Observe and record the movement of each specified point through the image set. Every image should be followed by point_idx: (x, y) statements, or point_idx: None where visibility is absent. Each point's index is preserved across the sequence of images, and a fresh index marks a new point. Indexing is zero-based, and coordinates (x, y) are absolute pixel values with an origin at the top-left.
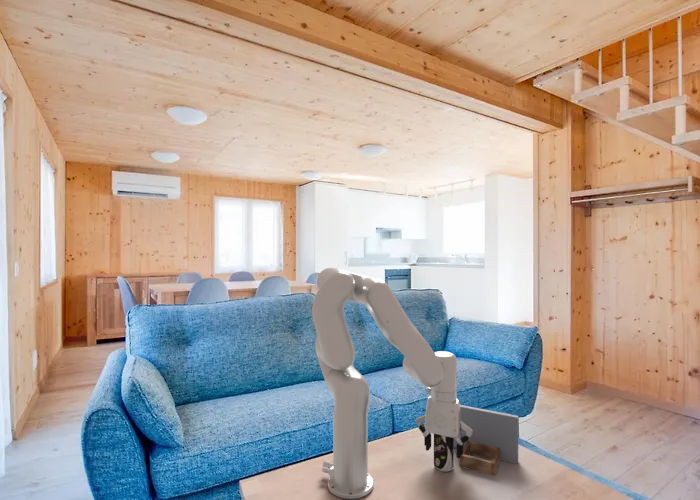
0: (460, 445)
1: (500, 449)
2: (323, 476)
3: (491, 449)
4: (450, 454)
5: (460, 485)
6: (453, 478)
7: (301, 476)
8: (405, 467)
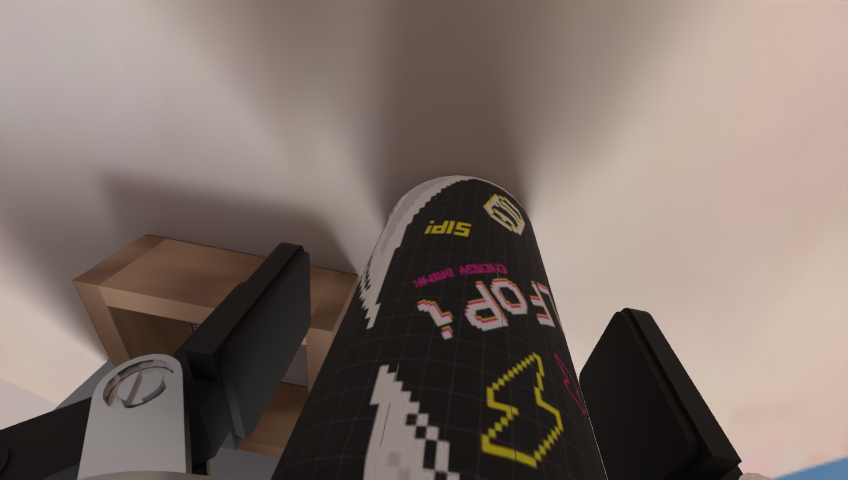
0: (191, 361)
1: None
2: None
3: None
4: (367, 271)
5: (295, 30)
6: (368, 120)
7: None
8: (795, 154)
